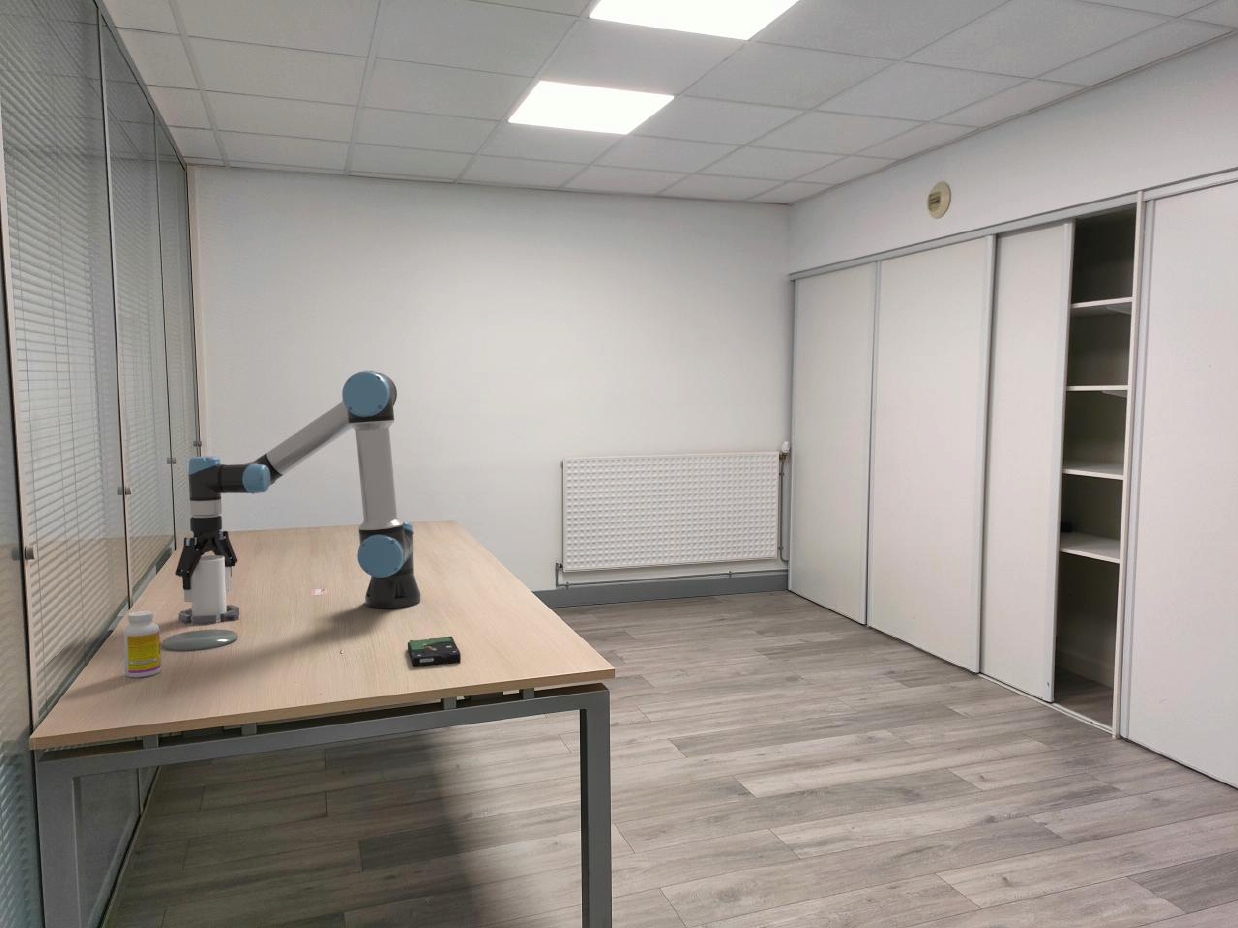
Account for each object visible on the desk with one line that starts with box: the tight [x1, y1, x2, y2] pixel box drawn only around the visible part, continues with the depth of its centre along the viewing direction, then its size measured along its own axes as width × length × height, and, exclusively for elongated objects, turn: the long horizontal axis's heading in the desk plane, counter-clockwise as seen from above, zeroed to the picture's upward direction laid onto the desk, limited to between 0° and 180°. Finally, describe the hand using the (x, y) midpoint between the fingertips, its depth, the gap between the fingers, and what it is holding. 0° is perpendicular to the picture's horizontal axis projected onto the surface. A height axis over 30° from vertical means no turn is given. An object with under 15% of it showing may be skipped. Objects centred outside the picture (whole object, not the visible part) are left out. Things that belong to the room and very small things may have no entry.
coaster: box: [161, 629, 238, 652], centre depth 209 cm, size 16×16×1 cm
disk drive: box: [407, 636, 462, 668], centre depth 197 cm, size 10×3×15 cm
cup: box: [190, 554, 227, 621], centre depth 231 cm, size 8×8×16 cm
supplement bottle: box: [122, 610, 162, 679], centre depth 184 cm, size 7×7×13 cm
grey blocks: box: [178, 604, 240, 626], centre depth 231 cm, size 17×14×2 cm
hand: (208, 596), depth 231 cm, fingers open, 13 cm apart
